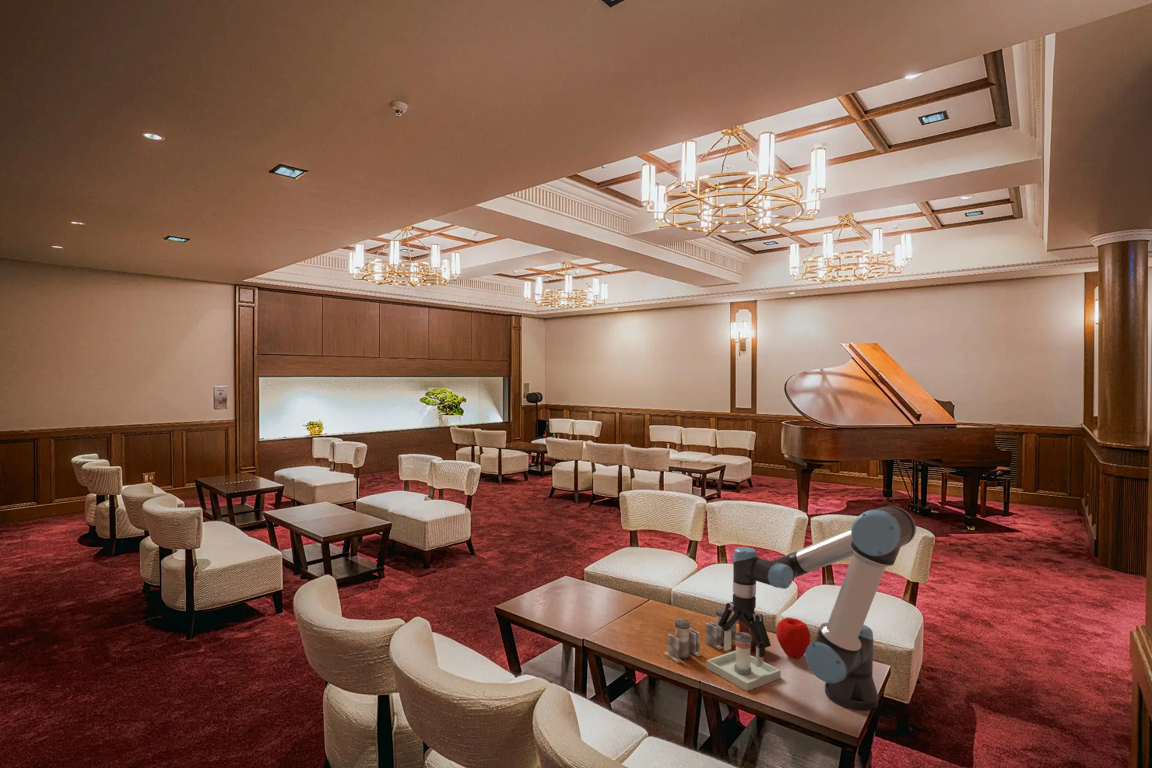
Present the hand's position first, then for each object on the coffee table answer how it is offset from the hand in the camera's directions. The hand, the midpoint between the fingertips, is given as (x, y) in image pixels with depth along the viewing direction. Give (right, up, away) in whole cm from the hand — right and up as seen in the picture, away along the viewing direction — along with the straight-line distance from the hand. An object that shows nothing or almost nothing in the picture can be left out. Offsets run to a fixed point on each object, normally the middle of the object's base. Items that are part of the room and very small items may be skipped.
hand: (743, 657), depth 191 cm
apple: (+22, -6, +13) cm, 26 cm away
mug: (+8, -6, +18) cm, 21 cm away
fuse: (0, -5, 0) cm, 5 cm away
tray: (0, -5, 0) cm, 5 cm away
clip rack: (-10, -5, +18) cm, 21 cm away
